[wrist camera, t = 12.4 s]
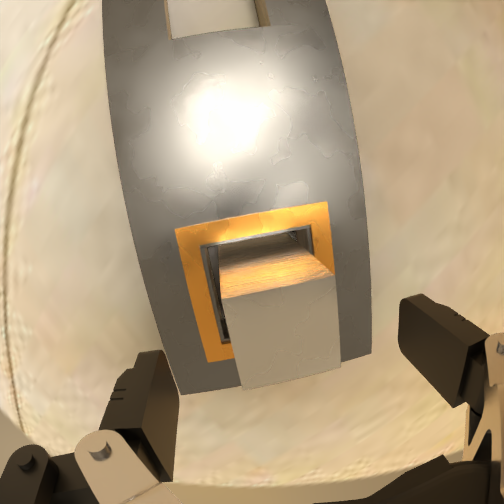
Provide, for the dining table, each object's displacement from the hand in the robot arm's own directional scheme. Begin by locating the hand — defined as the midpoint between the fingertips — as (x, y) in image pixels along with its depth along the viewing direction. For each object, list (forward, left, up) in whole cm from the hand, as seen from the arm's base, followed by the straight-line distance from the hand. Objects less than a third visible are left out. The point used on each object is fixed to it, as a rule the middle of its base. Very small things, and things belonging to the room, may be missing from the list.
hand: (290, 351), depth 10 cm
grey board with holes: (-8, 0, -9) cm, 12 cm away
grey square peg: (0, 0, -9) cm, 9 cm away
